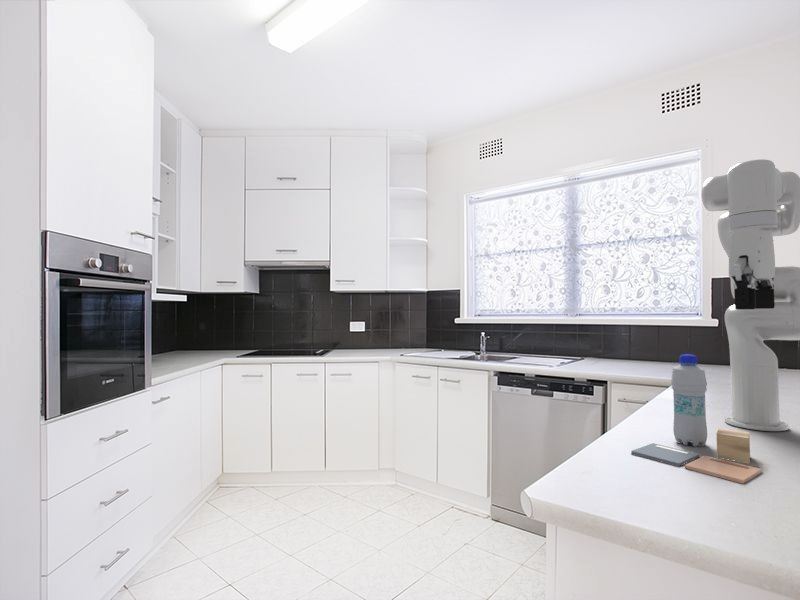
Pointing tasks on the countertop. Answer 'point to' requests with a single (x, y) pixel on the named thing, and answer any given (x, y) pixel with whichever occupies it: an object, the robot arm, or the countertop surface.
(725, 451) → the oak block
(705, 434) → the bottle
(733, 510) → the countertop surface
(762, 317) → the robot arm
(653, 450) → the slate mat
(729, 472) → the terracotta tile
